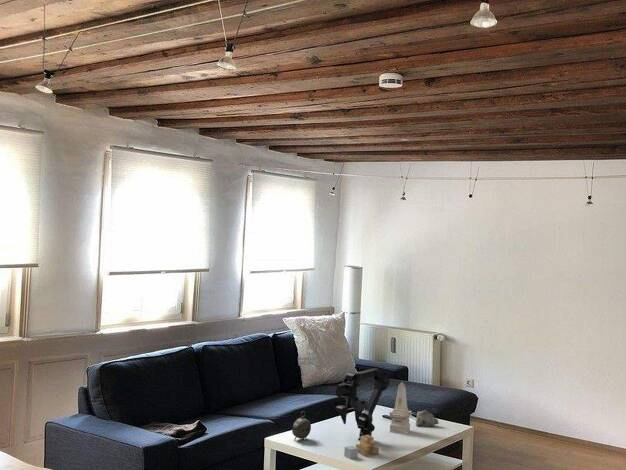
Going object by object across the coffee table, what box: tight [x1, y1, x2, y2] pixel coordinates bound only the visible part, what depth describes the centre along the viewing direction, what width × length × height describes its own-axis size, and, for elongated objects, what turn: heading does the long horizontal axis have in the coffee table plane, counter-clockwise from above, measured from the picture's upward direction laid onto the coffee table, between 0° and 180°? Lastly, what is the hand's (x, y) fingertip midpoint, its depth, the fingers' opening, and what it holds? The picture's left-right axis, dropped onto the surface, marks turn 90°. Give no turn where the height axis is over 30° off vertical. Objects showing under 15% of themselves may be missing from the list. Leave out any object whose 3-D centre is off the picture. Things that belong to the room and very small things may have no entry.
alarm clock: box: [291, 410, 312, 442], centre depth 380 cm, size 11×5×16 cm, turn 131°
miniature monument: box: [389, 381, 412, 435], centre depth 406 cm, size 10×10×30 cm
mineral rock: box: [415, 409, 440, 427], centre depth 420 cm, size 13×11×10 cm
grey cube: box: [343, 445, 359, 460], centre depth 354 cm, size 5×5×5 cm
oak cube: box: [359, 435, 375, 448], centre depth 362 cm, size 5×5×5 cm
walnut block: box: [355, 443, 380, 457], centre depth 362 cm, size 9×9×4 cm
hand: (350, 422), depth 376 cm, fingers open, 9 cm apart
